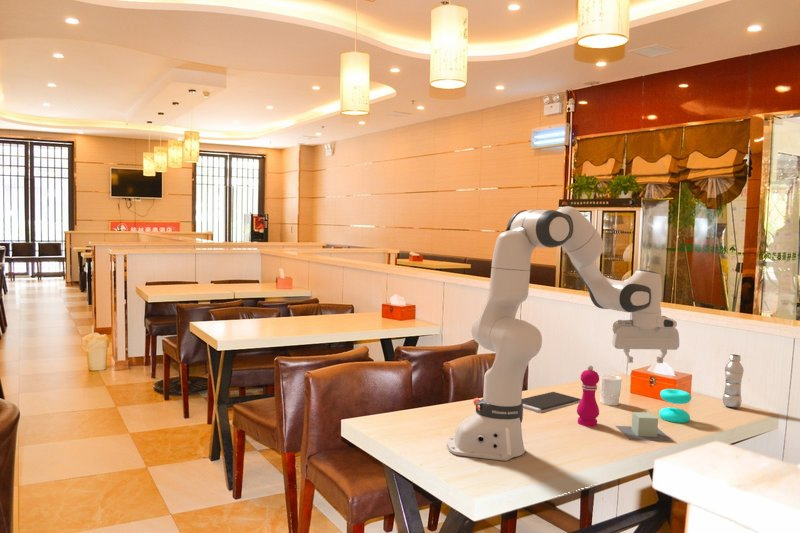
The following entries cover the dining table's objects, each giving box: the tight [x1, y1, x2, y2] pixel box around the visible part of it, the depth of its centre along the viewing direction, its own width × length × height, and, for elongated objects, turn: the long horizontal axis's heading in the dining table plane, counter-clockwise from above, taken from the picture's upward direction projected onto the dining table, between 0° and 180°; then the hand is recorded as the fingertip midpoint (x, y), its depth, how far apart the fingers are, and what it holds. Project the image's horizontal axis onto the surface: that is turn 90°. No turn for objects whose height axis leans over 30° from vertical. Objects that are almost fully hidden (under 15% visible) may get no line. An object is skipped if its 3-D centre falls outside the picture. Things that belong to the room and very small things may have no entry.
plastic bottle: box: [722, 353, 744, 409], centre depth 236 cm, size 6×7×20 cm
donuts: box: [658, 388, 692, 424], centre depth 217 cm, size 10×10×10 cm
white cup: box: [599, 374, 623, 406], centre depth 235 cm, size 8×8×10 cm
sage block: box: [631, 411, 659, 437], centre depth 199 cm, size 6×6×6 cm
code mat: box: [615, 425, 675, 443], centre depth 200 cm, size 14×14×1 cm
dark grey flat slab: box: [522, 391, 582, 414], centre depth 233 cm, size 13×27×2 cm, turn 131°
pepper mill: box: [576, 365, 600, 428], centre depth 207 cm, size 7×7×20 cm
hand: (644, 362), depth 200 cm, fingers open, 8 cm apart
